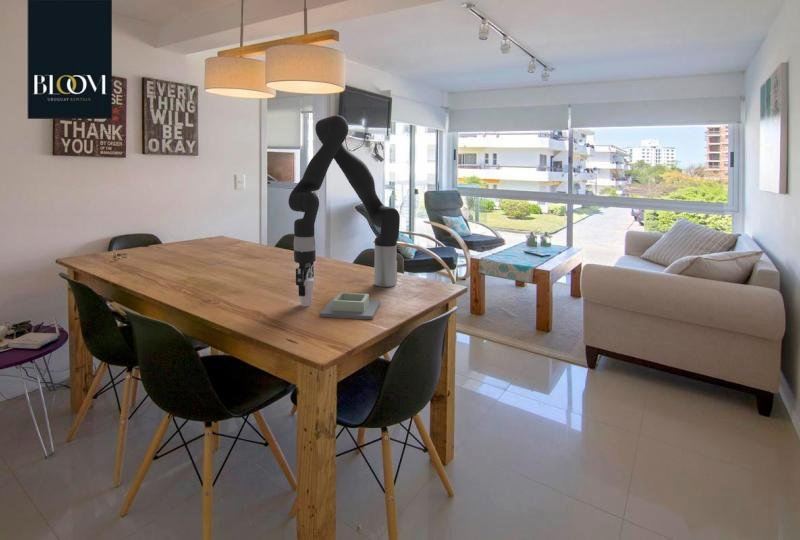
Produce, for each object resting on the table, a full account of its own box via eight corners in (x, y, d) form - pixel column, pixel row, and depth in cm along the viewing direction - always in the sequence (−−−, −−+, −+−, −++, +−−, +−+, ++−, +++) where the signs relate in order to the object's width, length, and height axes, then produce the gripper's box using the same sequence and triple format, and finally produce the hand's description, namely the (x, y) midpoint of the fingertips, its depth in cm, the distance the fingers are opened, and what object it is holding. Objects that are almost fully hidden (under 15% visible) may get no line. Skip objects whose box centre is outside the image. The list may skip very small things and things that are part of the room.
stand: (332, 301, 181) (332, 289, 180) (380, 304, 179) (380, 291, 178) (319, 316, 163) (319, 303, 162) (372, 319, 162) (372, 306, 160)
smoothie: (316, 302, 179) (315, 265, 176) (313, 307, 173) (312, 269, 170) (298, 302, 179) (297, 265, 176) (295, 307, 173) (294, 269, 170)
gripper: (300, 244, 179) (301, 287, 182) (287, 251, 165) (288, 297, 168) (320, 245, 178) (320, 288, 181) (309, 252, 164) (309, 298, 168)
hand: (305, 292), depth 175 cm, fingers open, 8 cm apart
